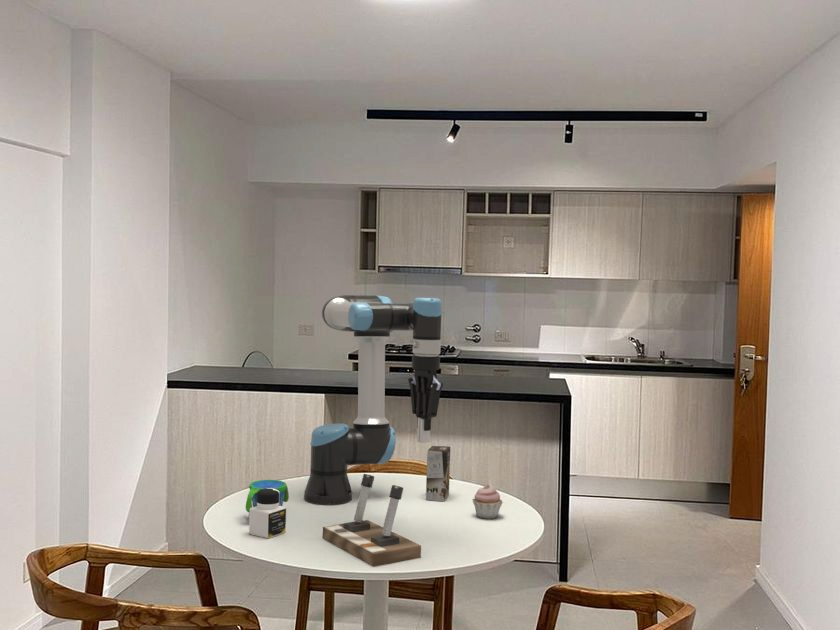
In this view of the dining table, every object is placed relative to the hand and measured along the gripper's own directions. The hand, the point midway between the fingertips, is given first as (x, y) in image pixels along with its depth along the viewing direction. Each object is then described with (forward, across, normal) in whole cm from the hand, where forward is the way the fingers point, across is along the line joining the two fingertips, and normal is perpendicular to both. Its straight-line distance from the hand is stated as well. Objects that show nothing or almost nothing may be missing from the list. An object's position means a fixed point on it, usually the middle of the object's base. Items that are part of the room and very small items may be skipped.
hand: (423, 441), depth 230 cm
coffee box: (+27, -33, +30) cm, 52 cm away
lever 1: (+22, -7, -16) cm, 28 cm away
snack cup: (+27, -37, -28) cm, 53 cm away
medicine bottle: (+27, -24, -34) cm, 49 cm away
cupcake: (+27, -8, +30) cm, 41 cm away
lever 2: (+22, +7, -16) cm, 28 cm away
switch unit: (+26, 0, -16) cm, 31 cm away
